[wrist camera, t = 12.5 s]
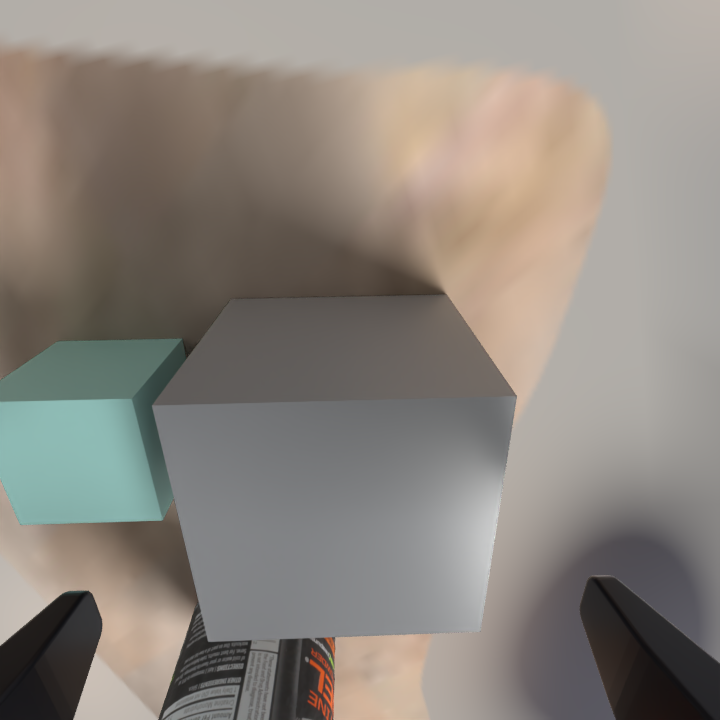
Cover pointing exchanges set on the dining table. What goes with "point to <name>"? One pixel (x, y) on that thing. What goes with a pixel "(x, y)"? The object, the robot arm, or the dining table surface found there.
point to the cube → (87, 432)
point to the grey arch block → (337, 467)
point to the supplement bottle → (251, 678)
